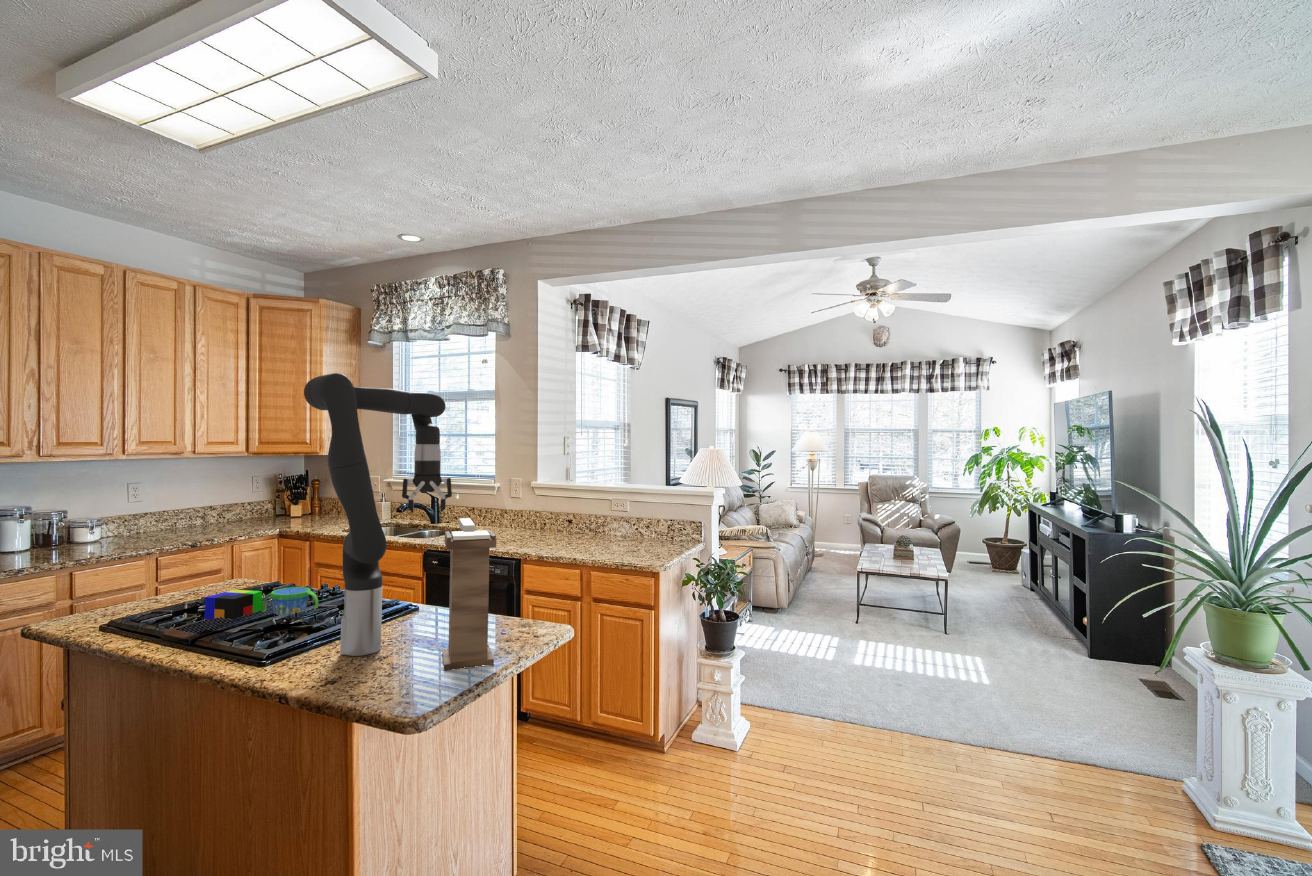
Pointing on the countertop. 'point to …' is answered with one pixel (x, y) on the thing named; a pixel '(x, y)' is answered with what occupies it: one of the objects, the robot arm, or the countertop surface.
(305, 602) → the snack cup
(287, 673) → the countertop surface
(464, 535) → the slide cover
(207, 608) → the puzzle toy
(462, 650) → the stand
